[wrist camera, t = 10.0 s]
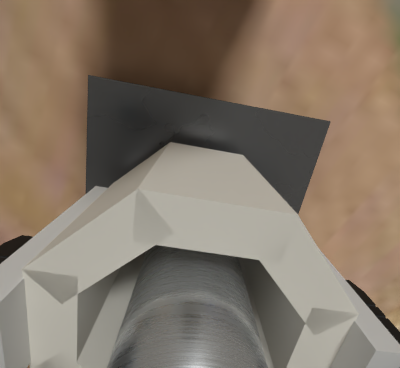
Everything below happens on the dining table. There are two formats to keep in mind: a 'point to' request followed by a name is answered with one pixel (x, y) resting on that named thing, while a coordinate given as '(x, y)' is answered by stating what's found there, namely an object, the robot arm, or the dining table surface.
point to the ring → (191, 240)
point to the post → (182, 258)
